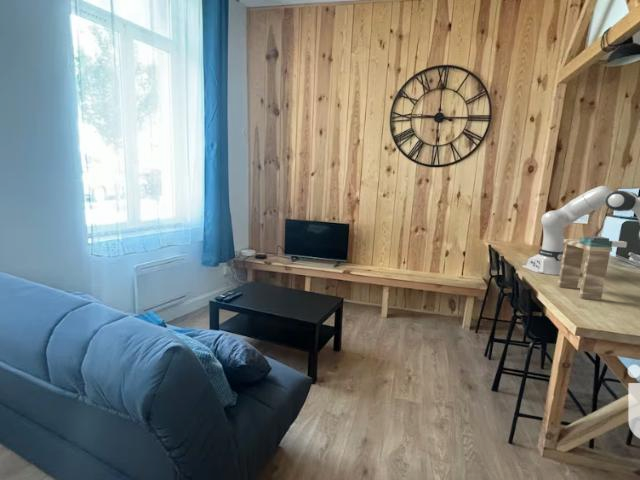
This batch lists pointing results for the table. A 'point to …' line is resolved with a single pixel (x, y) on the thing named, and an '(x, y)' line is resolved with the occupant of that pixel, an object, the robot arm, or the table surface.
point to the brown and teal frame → (592, 269)
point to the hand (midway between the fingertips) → (637, 255)
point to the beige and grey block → (614, 243)
